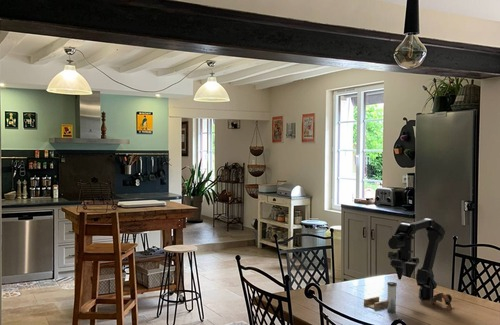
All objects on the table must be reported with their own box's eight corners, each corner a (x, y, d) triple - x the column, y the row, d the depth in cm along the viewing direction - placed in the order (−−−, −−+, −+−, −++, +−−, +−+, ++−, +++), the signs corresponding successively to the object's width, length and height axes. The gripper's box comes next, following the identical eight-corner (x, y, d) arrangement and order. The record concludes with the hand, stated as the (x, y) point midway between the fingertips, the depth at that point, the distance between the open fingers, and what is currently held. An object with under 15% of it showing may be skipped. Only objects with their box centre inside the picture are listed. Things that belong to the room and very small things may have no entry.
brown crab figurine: (446, 313, 243) (437, 297, 245) (432, 316, 250) (424, 301, 252) (460, 303, 249) (451, 287, 251) (446, 306, 257) (438, 291, 259)
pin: (394, 310, 244) (395, 282, 243) (397, 313, 239) (397, 284, 239) (385, 310, 244) (386, 281, 243) (388, 313, 239) (388, 284, 239)
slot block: (377, 302, 257) (377, 296, 257) (389, 306, 250) (389, 300, 250) (363, 305, 251) (363, 299, 251) (375, 309, 244) (376, 303, 244)
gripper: (400, 244, 266) (399, 273, 266) (381, 247, 254) (380, 277, 254) (420, 247, 258) (419, 277, 258) (401, 250, 245) (400, 282, 246)
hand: (404, 278), depth 254 cm, fingers open, 9 cm apart
